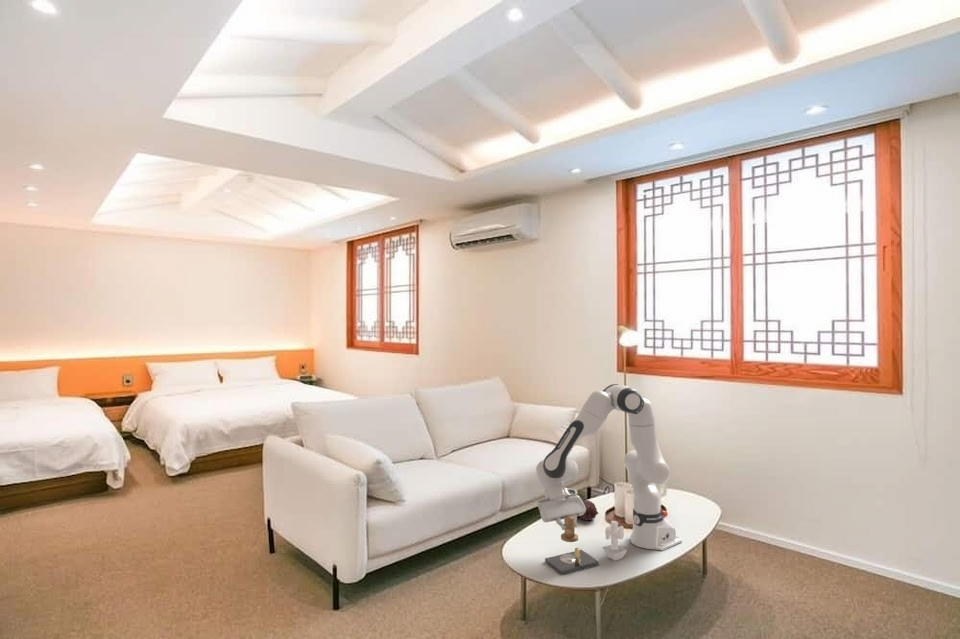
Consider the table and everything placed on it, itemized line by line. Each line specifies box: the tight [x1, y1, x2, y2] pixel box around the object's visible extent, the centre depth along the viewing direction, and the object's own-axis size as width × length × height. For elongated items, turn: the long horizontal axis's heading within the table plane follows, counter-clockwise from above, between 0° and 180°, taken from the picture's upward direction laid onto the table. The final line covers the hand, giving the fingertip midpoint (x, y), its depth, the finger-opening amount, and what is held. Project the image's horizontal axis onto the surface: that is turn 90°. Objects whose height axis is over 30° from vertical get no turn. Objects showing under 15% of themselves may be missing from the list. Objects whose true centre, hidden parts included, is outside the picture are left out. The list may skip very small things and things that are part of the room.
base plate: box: [544, 549, 600, 576], centre depth 215 cm, size 18×12×2 cm, turn 115°
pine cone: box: [577, 499, 599, 522], centre depth 263 cm, size 18×10×10 cm
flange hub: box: [560, 516, 579, 543], centre depth 216 cm, size 7×7×8 cm
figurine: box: [602, 520, 628, 562], centre depth 220 cm, size 7×9×15 cm
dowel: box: [574, 547, 581, 565], centre depth 212 cm, size 2×2×6 cm
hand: (570, 528), depth 215 cm, fingers closed on flange hub, 4 cm apart
